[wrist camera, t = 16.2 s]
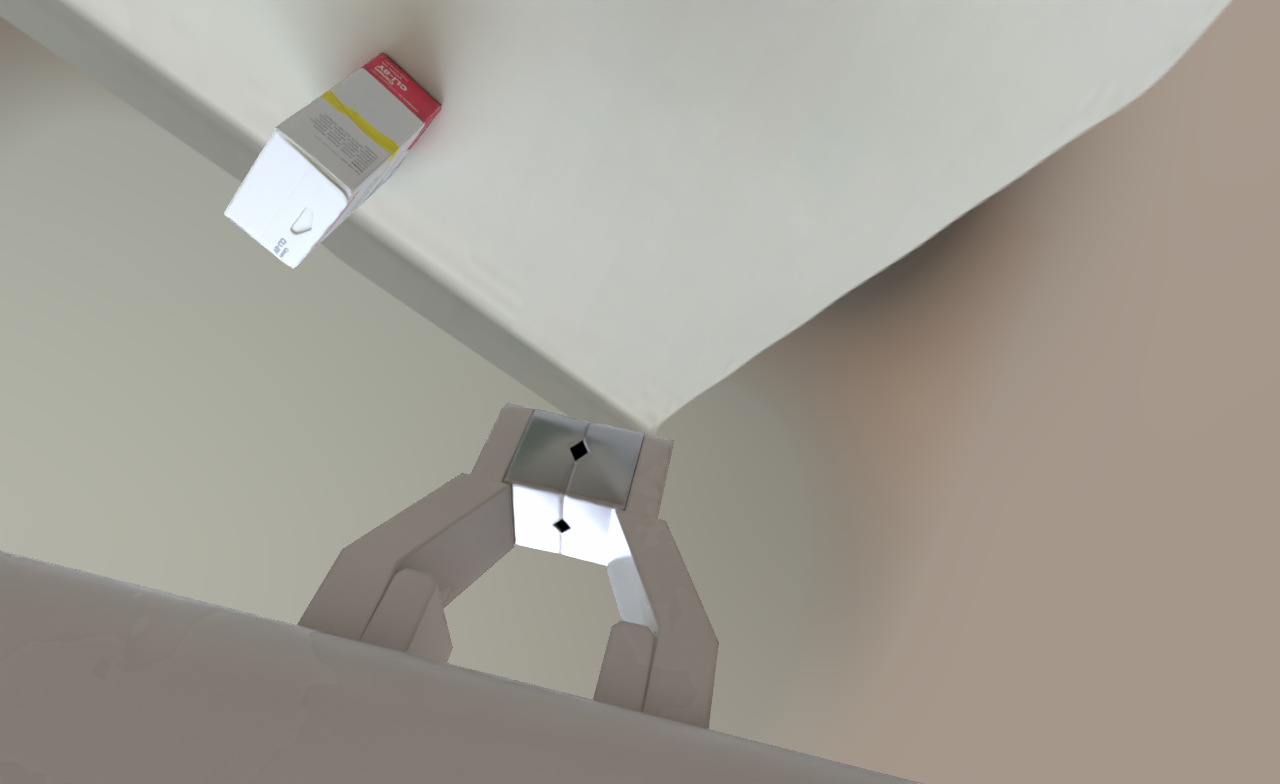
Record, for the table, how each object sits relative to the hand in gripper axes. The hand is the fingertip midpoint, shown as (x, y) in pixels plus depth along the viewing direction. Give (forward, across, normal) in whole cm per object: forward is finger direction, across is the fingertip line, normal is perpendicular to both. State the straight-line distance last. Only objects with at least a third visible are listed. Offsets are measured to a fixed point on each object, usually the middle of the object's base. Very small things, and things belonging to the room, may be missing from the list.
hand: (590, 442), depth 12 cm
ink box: (+33, +22, +12) cm, 42 cm away
